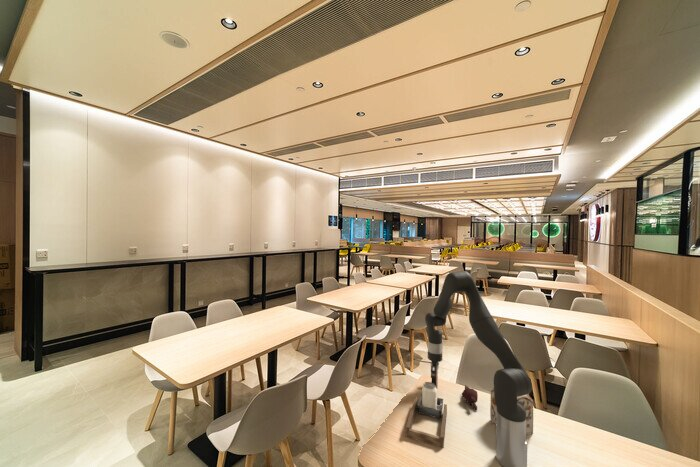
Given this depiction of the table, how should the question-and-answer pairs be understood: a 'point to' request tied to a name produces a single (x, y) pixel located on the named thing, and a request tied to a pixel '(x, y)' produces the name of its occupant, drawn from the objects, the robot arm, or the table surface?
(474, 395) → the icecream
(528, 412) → the decorative jar
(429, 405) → the can
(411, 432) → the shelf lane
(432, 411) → the pull frame
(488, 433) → the table surface
